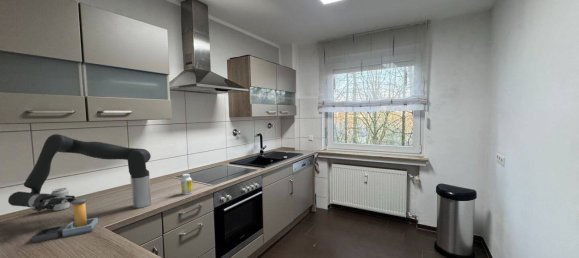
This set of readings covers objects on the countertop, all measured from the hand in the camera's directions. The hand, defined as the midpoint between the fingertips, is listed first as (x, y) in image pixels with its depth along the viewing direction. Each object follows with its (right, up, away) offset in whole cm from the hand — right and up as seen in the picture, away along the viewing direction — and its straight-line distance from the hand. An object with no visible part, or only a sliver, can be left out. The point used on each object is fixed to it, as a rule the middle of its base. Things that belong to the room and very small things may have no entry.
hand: (64, 203), depth 113 cm
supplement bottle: (+38, -8, +47) cm, 61 cm away
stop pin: (+11, -10, -3) cm, 15 cm away
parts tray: (+11, -11, -3) cm, 16 cm away
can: (-27, -12, +27) cm, 40 cm away
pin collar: (+1, -12, -8) cm, 14 cm away
